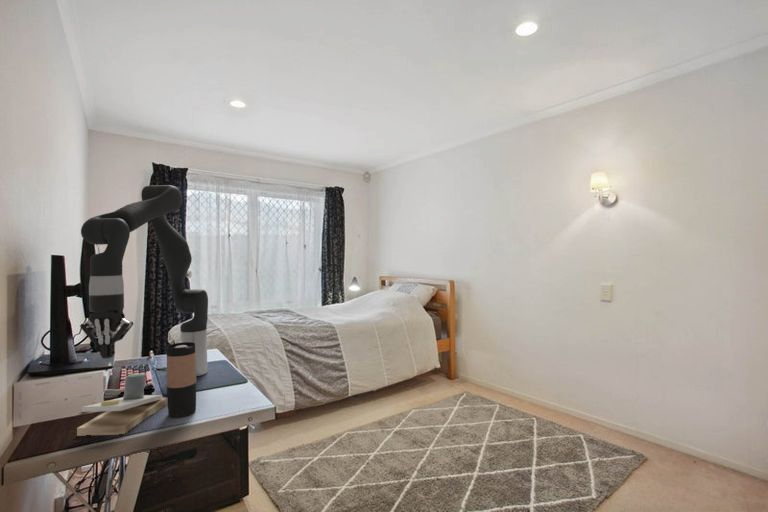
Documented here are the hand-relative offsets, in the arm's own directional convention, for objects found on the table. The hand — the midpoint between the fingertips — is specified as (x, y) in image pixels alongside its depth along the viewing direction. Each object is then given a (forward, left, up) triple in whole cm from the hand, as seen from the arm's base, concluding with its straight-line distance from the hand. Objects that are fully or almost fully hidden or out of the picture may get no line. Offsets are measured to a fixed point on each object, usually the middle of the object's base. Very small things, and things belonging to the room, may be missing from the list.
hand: (107, 357), depth 101 cm
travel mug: (-10, +14, -20) cm, 26 cm away
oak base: (-7, 0, -19) cm, 21 cm away
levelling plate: (-7, 0, -15) cm, 17 cm away
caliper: (-24, -12, -20) cm, 33 cm away
